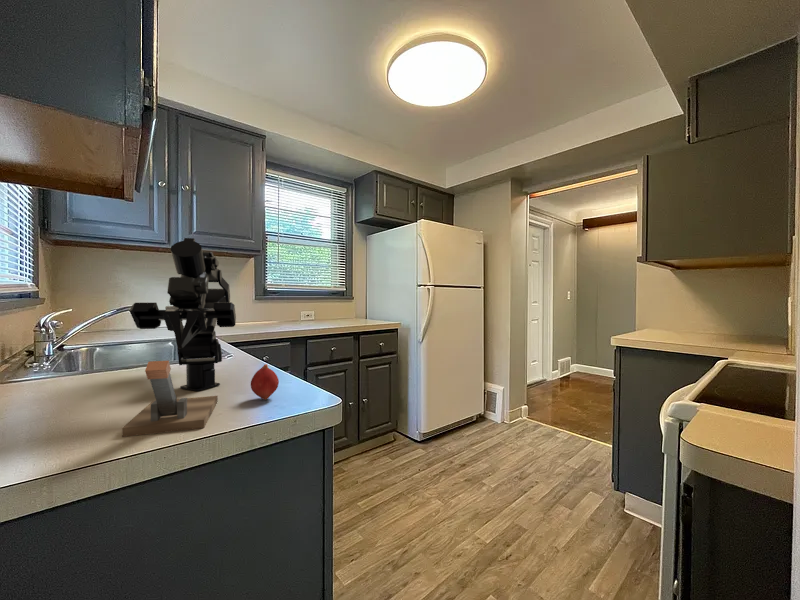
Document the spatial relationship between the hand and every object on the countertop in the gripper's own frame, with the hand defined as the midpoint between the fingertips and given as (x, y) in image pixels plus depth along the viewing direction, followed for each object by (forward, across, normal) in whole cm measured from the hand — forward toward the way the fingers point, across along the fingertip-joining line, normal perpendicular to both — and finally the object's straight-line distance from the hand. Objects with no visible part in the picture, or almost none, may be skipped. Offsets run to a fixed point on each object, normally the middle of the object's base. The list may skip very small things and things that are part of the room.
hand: (179, 347), depth 69 cm
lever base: (+11, 0, +7) cm, 13 cm away
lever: (+12, 0, +2) cm, 13 cm away
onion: (+7, +16, +12) cm, 21 cm away
